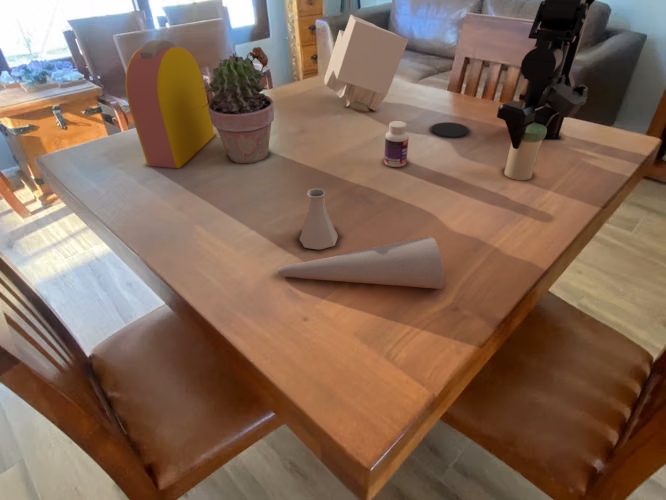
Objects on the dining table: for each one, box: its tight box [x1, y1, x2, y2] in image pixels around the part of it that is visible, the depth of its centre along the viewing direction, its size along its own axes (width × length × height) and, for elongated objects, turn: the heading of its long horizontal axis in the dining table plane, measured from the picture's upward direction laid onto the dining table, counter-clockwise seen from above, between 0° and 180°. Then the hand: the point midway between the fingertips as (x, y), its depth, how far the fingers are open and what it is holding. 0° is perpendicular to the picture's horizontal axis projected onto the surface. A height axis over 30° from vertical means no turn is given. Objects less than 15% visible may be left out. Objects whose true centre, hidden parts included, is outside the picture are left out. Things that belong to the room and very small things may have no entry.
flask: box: [299, 187, 339, 250], centre depth 77 cm, size 7×7×10 cm
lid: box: [522, 123, 547, 141], centre depth 92 cm, size 7×7×2 cm
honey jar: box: [503, 139, 543, 181], centre depth 95 cm, size 6×6×10 cm
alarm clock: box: [124, 39, 215, 169], centre depth 105 cm, size 21×9×26 cm, turn 168°
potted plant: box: [200, 46, 275, 164], centre depth 101 cm, size 18×20×25 cm
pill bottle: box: [383, 120, 410, 168], centre depth 101 cm, size 5×5×10 cm
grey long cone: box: [277, 235, 445, 290], centre depth 68 cm, size 8×9×26 cm
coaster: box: [431, 121, 469, 139], centre depth 119 cm, size 10×10×1 cm
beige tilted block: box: [323, 14, 409, 112], centre depth 130 cm, size 20×16×25 cm
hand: (526, 143), depth 93 cm, fingers open, 7 cm apart
